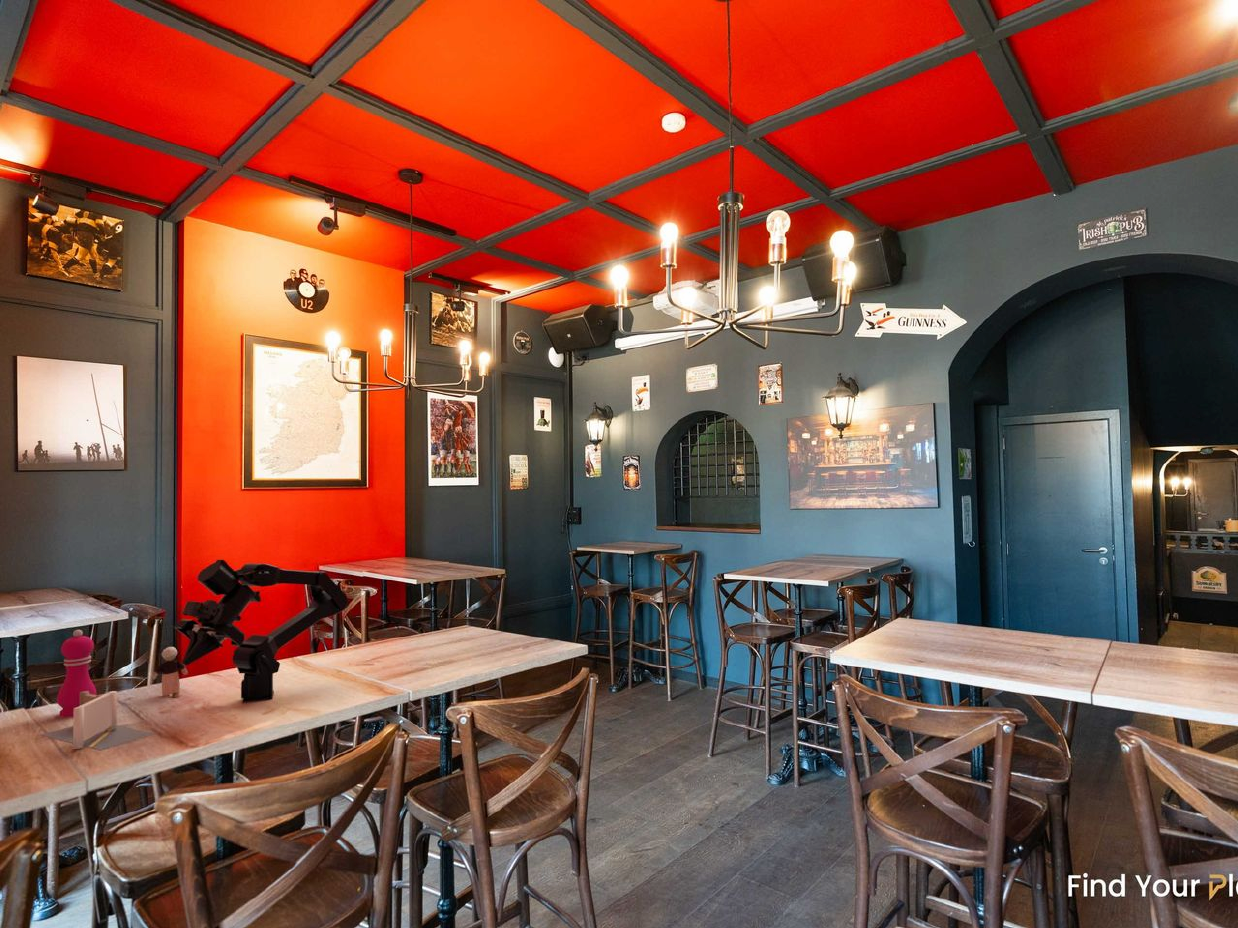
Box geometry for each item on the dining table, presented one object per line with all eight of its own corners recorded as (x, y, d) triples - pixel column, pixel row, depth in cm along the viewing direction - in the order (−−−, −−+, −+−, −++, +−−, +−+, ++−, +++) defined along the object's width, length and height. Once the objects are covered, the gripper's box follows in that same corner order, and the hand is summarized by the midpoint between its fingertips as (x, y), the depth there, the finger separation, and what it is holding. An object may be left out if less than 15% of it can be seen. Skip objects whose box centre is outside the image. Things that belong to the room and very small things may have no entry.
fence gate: (108, 728, 144) (108, 691, 145) (118, 727, 145) (119, 690, 145) (69, 749, 132) (70, 709, 132) (81, 748, 132) (81, 708, 133)
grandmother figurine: (181, 692, 175) (181, 643, 175) (189, 694, 173) (189, 644, 173) (148, 700, 168) (148, 649, 169) (156, 702, 166) (156, 650, 167)
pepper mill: (91, 709, 162) (92, 625, 163) (100, 714, 157) (101, 628, 158) (53, 717, 156) (54, 630, 157) (60, 723, 152) (62, 634, 153)
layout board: (39, 738, 142) (39, 701, 142) (94, 723, 151) (94, 688, 151) (100, 754, 132) (100, 714, 132) (155, 737, 141) (155, 699, 141)
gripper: (182, 585, 161) (132, 641, 151) (232, 588, 153) (183, 647, 143) (214, 612, 168) (169, 668, 158) (264, 616, 160) (219, 675, 150)
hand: (184, 664), depth 152 cm, fingers closed
